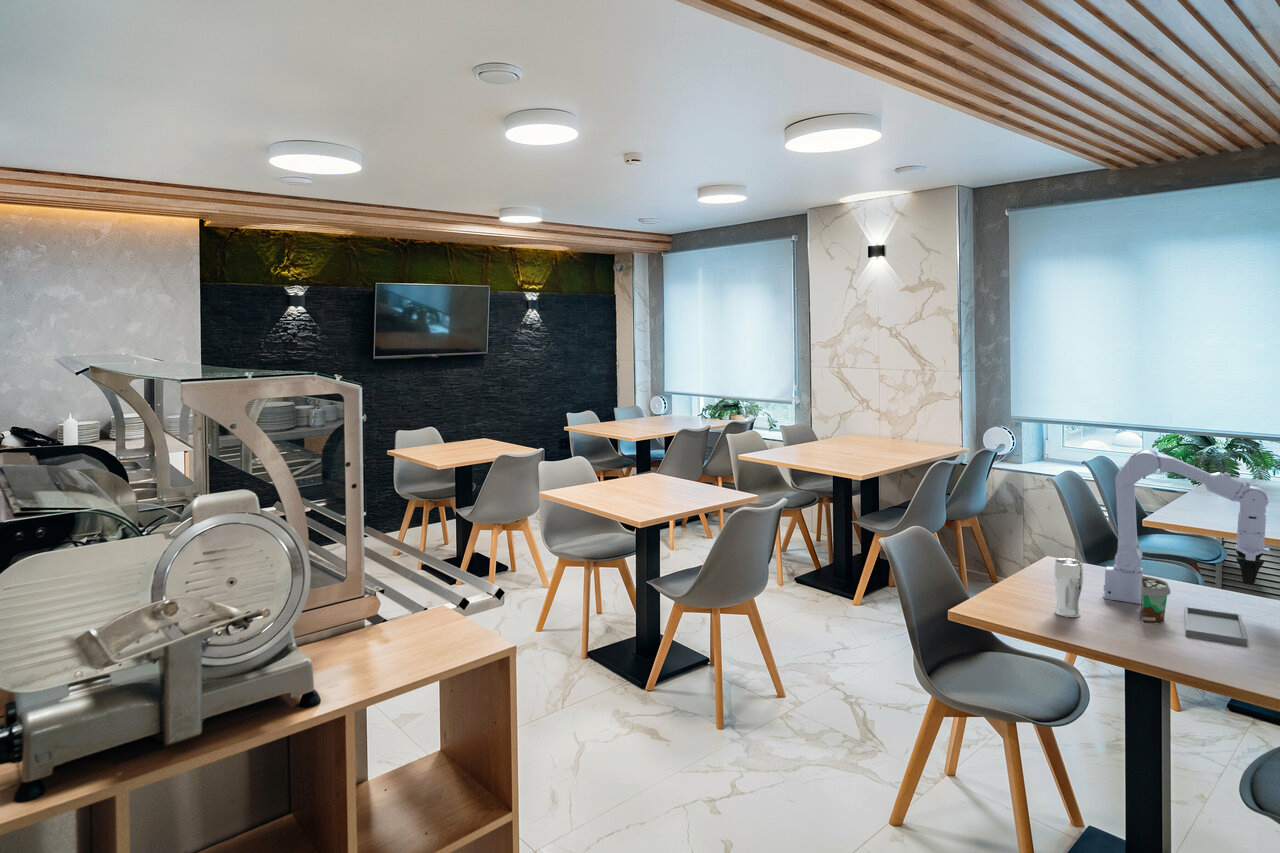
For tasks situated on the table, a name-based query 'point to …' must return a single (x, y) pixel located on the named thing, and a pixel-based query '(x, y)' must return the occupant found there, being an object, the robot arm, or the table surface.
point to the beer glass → (1068, 586)
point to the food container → (1153, 599)
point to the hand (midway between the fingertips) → (1248, 580)
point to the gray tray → (1214, 625)
